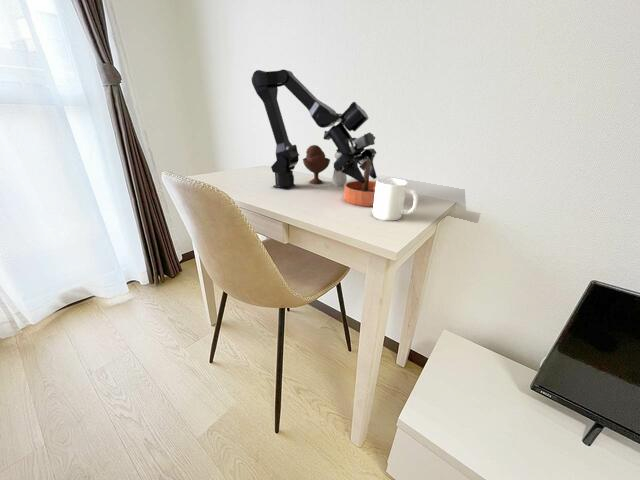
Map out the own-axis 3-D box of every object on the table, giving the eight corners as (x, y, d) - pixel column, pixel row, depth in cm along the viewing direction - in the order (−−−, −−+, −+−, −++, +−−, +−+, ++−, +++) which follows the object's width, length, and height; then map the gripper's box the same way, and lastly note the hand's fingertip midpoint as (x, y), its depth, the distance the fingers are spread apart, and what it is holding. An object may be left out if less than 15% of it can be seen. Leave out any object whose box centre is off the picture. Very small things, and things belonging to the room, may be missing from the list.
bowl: (336, 202, 85) (337, 188, 83) (351, 191, 97) (352, 178, 94) (379, 210, 80) (381, 194, 77) (389, 197, 91) (392, 183, 89)
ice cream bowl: (329, 186, 103) (330, 146, 97) (301, 185, 104) (301, 146, 97) (329, 179, 113) (330, 143, 106) (303, 179, 113) (303, 142, 106)
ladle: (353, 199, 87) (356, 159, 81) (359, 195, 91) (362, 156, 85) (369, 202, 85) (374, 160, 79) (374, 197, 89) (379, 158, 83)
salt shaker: (343, 182, 108) (344, 150, 102) (348, 186, 104) (350, 152, 98) (330, 183, 107) (331, 150, 101) (334, 187, 102) (336, 153, 96)
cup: (378, 208, 81) (383, 176, 76) (417, 217, 75) (424, 182, 70) (367, 216, 75) (371, 182, 70) (409, 226, 69) (416, 189, 64)
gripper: (343, 124, 73) (374, 169, 72) (374, 122, 86) (400, 160, 85) (321, 150, 81) (348, 191, 80) (352, 145, 94) (376, 180, 93)
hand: (370, 180), depth 84 cm, fingers open, 7 cm apart
